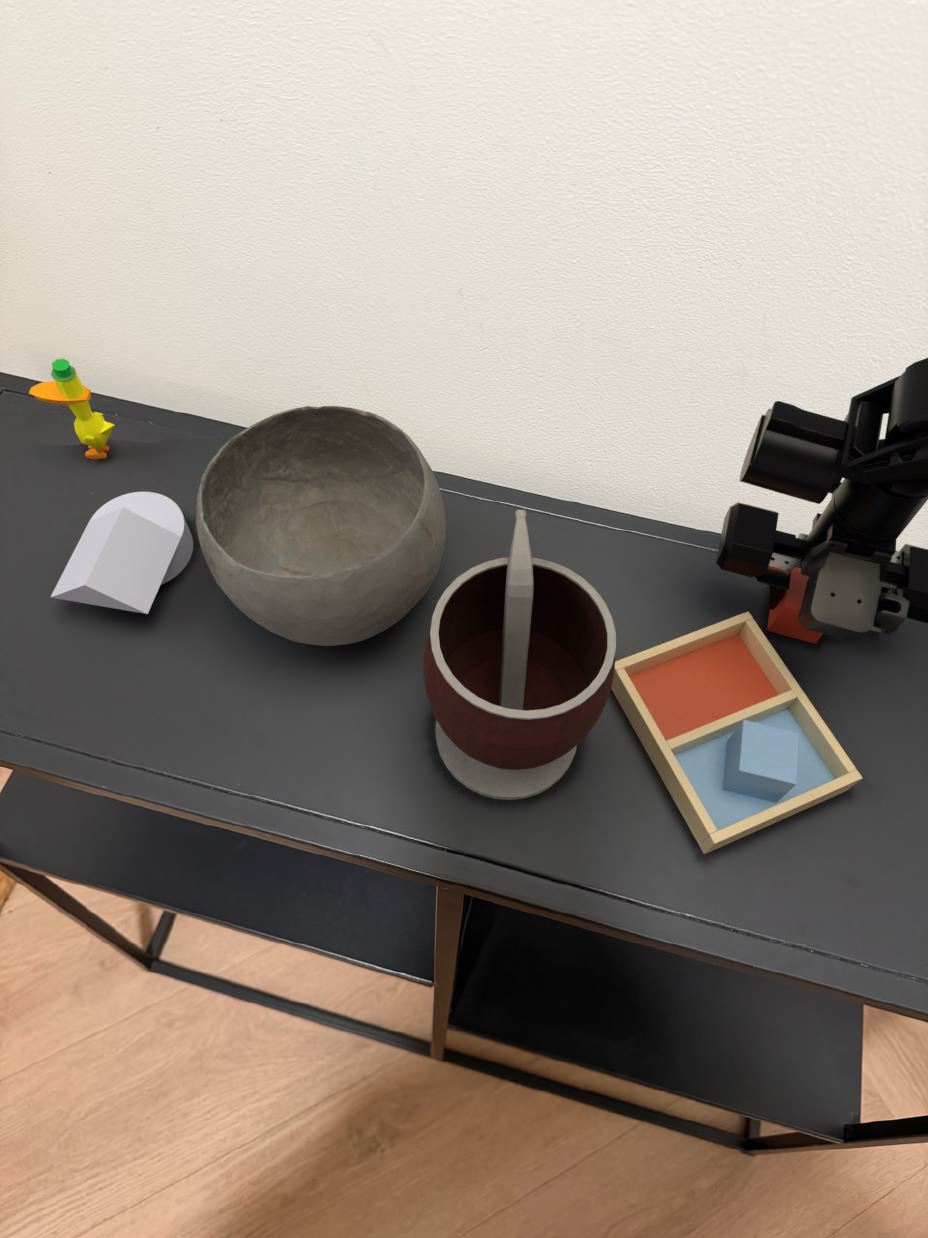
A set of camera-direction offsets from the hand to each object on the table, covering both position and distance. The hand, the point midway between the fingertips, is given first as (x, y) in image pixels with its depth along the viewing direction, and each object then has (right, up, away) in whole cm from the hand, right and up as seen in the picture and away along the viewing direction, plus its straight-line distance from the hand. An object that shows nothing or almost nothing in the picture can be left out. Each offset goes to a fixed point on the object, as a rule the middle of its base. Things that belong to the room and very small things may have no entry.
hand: (797, 612), depth 78 cm
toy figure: (-69, +17, +9) cm, 72 cm away
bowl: (-43, +3, +2) cm, 43 cm away
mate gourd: (-27, -10, -5) cm, 30 cm away
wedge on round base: (-62, +4, +2) cm, 62 cm away
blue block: (-7, -13, -8) cm, 17 cm away
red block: (0, 0, +1) cm, 1 cm away
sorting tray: (-9, -10, -5) cm, 15 cm away
